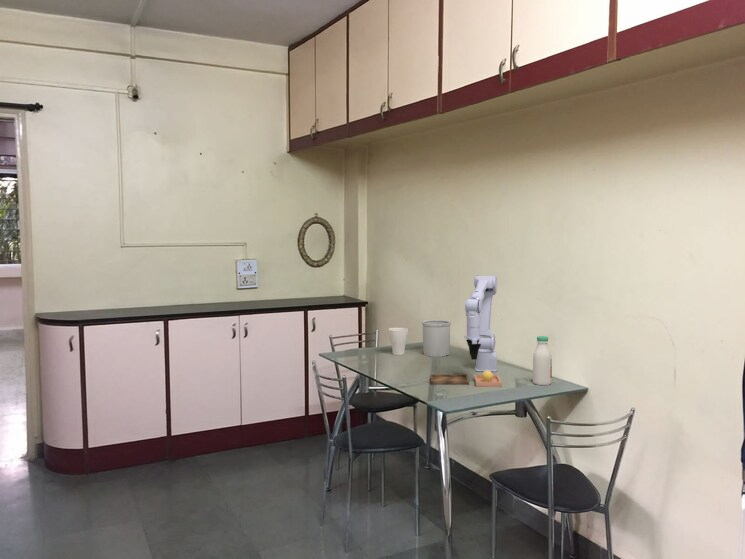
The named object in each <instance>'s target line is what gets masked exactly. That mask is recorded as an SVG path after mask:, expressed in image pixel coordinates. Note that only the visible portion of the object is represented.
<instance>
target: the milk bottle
mask: <svg viewBox="0 0 745 559" xmlns="http://www.w3.org/2000/svg"><path fill="white" fill-rule="evenodd" d="M548 343H549V336H545V335H540V336H539V335H538V336H537V337H536V347H535V350H534V352H533V356H532V382H533V384H535V385H539V386H549V385H551V384H552V382H553V381H552V380H553V379H552V374H553V373H552V372H553V371H552V370H553V369H552V368H553V367H552V366H553V365H552V364H553V363H552V362H553V361H552V357H553V356H552V354H551V350H550V347H549V344H548Z"/></svg>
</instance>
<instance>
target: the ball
mask: <svg viewBox="0 0 745 559" xmlns="http://www.w3.org/2000/svg"><path fill="white" fill-rule="evenodd" d="M481 375H482V379H483V380H484V381H486V382H489V381H491V380H492V379H493V375H494V374H493V371H488V370H486V371H482V374H481Z"/></svg>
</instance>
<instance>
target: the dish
mask: <svg viewBox="0 0 745 559" xmlns="http://www.w3.org/2000/svg"><path fill="white" fill-rule="evenodd" d="M473 380H474V381H473V382H474V384H475V386H476V387H477V388H478V387H483V388H486V387H487V388H488V387H489V388H494V387H495V388H499V387H500V388H501V387H502V385H503V384H502V380H501V378H500V376H499V375H498V374H493V379H492V380H491V381H489V382H486V381H484V380H483V379H482V374H473Z"/></svg>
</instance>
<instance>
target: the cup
mask: <svg viewBox="0 0 745 559" xmlns="http://www.w3.org/2000/svg"><path fill="white" fill-rule="evenodd" d="M387 330H388V338H389V342H390V345H391V349H392V350H391V351H392V355H393V354H394V355H393V356H404V355H405V350H406V349H405V348H406V344H407V341H408V340H407V339H408V335H409V334H408V333H409V328H407V327H389V328H388V329H387ZM403 354H404V355H403Z"/></svg>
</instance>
